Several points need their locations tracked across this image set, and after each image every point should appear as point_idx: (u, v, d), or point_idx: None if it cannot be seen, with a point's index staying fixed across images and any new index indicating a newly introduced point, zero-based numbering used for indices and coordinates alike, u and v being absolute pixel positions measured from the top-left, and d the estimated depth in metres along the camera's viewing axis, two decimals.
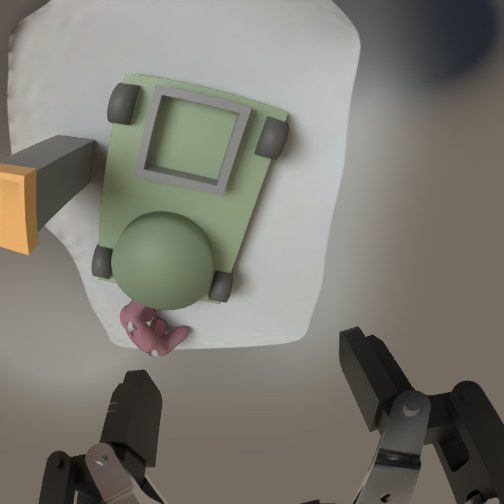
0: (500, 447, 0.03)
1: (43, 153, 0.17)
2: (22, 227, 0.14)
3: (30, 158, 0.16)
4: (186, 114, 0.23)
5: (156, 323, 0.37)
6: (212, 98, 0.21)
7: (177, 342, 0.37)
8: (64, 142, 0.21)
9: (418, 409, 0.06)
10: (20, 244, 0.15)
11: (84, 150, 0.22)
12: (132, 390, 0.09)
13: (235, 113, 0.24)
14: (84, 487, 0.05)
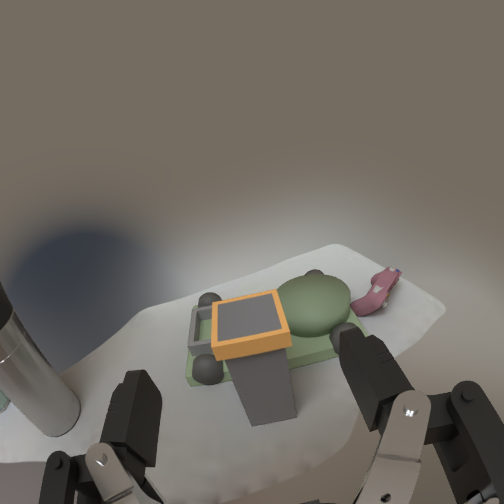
0: (500, 447, 0.03)
1: None
2: (253, 296, 0.25)
3: None
4: (208, 338, 0.39)
5: None
6: (191, 322, 0.39)
7: (379, 273, 0.43)
8: None
9: (418, 409, 0.06)
10: (269, 295, 0.25)
11: None
12: (132, 390, 0.09)
13: (201, 321, 0.43)
14: (84, 487, 0.05)
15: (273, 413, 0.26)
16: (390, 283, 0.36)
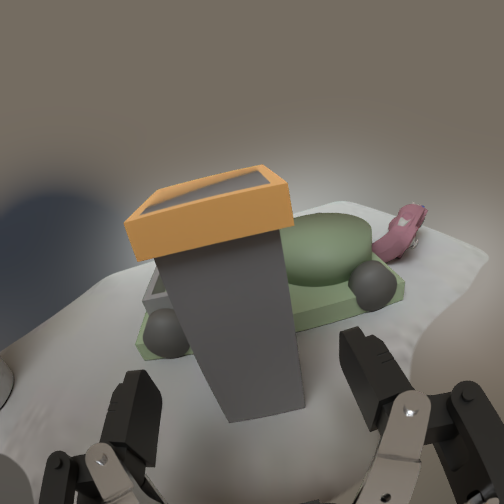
0: (500, 447, 0.03)
1: None
2: (223, 174, 0.14)
3: None
4: None
5: None
6: (154, 274, 0.29)
7: None
8: None
9: (418, 409, 0.06)
10: (250, 168, 0.14)
11: None
12: (132, 390, 0.09)
13: None
14: (84, 487, 0.05)
15: (264, 399, 0.15)
16: (418, 215, 0.26)
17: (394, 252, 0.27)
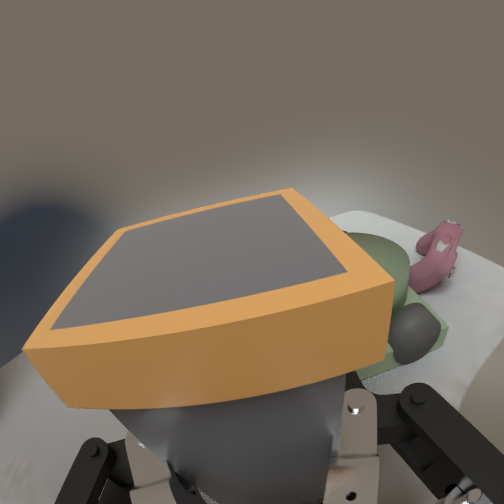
0: (466, 441, 0.04)
1: None
2: (225, 205, 0.08)
3: None
4: None
5: None
6: None
7: (429, 233, 0.27)
8: None
9: (362, 407, 0.06)
10: (273, 197, 0.08)
11: None
12: None
13: None
14: (117, 478, 0.06)
15: (282, 500, 0.09)
16: (457, 238, 0.20)
17: (429, 282, 0.21)
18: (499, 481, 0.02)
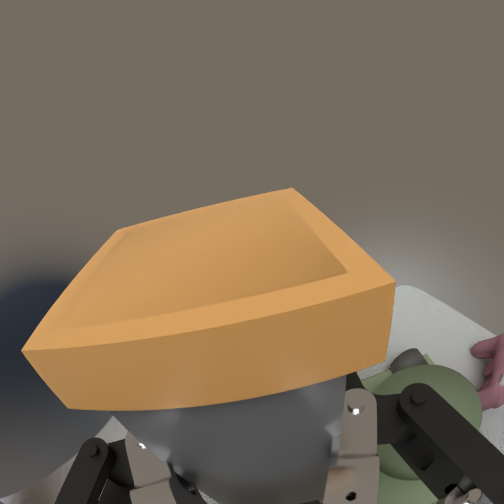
0: (466, 441, 0.04)
1: None
2: (225, 205, 0.08)
3: None
4: None
5: (489, 373, 0.19)
6: None
7: (487, 341, 0.22)
8: None
9: (361, 407, 0.06)
10: (274, 197, 0.08)
11: None
12: None
13: None
14: (117, 478, 0.06)
15: (282, 500, 0.09)
16: None
17: (485, 408, 0.16)
18: (499, 481, 0.02)
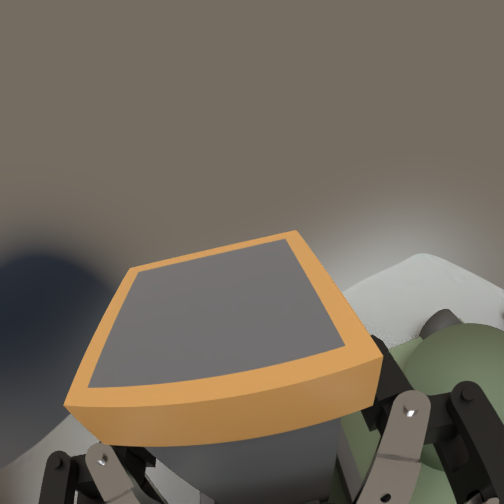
0: (500, 447, 0.03)
1: None
2: (233, 249, 0.09)
3: None
4: None
5: None
6: None
7: None
8: None
9: (418, 409, 0.06)
10: (279, 243, 0.09)
11: None
12: None
13: None
14: (84, 487, 0.05)
15: None
16: None
17: None
18: None
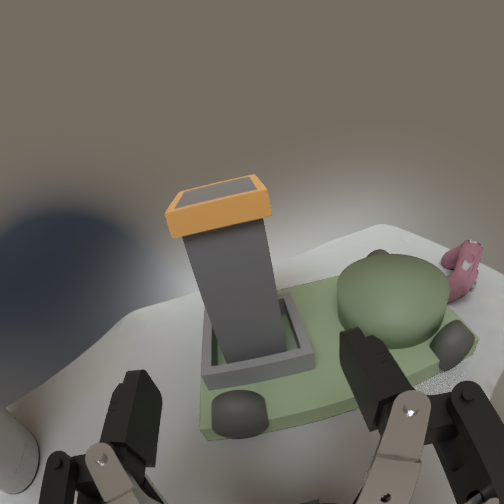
0: (499, 447, 0.03)
1: None
2: (226, 181, 0.21)
3: None
4: None
5: None
6: (204, 332, 0.24)
7: (453, 249, 0.29)
8: None
9: (418, 409, 0.06)
10: (246, 177, 0.20)
11: None
12: (132, 390, 0.09)
13: None
14: (84, 487, 0.05)
15: (256, 348, 0.21)
16: (479, 258, 0.22)
17: (454, 295, 0.23)
18: None
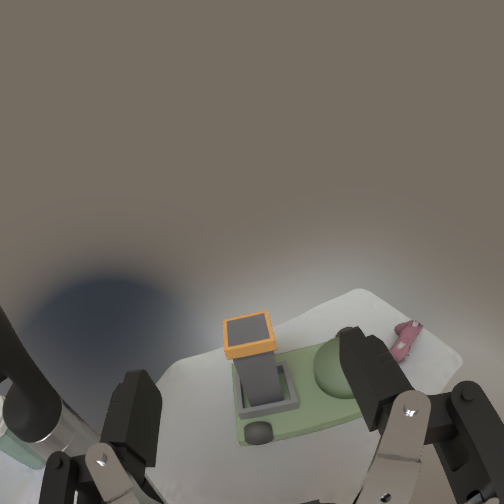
0: (500, 447, 0.03)
1: None
2: (251, 315, 0.36)
3: None
4: None
5: None
6: (236, 387, 0.39)
7: (403, 323, 0.44)
8: None
9: (418, 409, 0.06)
10: (262, 314, 0.36)
11: None
12: (132, 390, 0.09)
13: None
14: (84, 487, 0.05)
15: (266, 398, 0.36)
16: (412, 339, 0.38)
17: None
18: None
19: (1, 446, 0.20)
